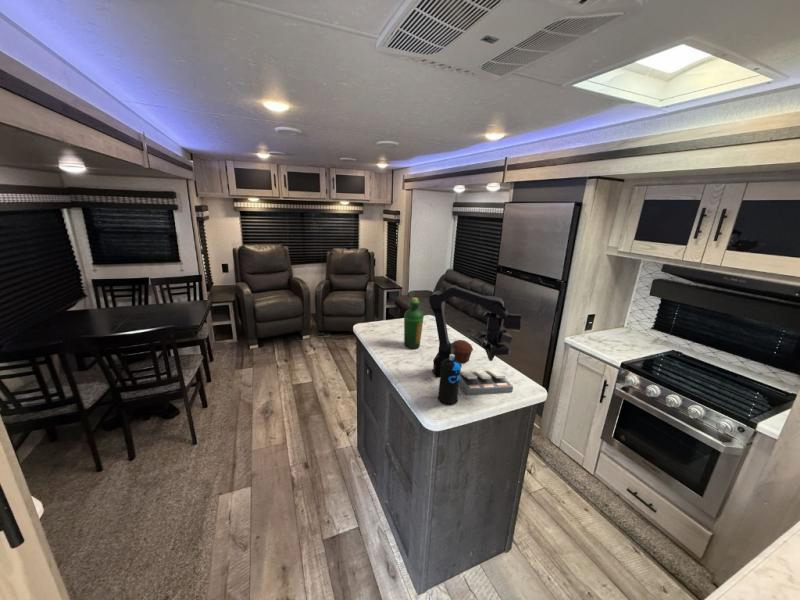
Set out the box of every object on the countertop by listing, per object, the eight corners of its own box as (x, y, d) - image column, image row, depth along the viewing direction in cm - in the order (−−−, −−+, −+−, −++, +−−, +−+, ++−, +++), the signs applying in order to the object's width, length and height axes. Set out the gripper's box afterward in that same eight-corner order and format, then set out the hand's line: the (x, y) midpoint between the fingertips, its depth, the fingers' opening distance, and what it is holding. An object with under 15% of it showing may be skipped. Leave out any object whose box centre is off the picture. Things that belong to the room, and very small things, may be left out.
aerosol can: (433, 398, 126) (437, 354, 120) (445, 391, 132) (450, 348, 126) (449, 408, 121) (454, 362, 115) (461, 399, 126) (467, 355, 121)
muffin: (444, 358, 161) (446, 340, 158) (456, 352, 168) (458, 335, 165) (463, 367, 153) (466, 348, 150) (475, 360, 160) (478, 342, 158)
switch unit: (466, 395, 130) (467, 389, 129) (454, 377, 143) (455, 372, 142) (512, 391, 134) (513, 386, 133) (497, 375, 147) (497, 370, 146)
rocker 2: (482, 380, 134) (482, 376, 134) (474, 374, 142) (474, 370, 142) (491, 379, 135) (491, 376, 135) (482, 373, 142) (483, 370, 142)
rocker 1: (468, 380, 133) (468, 376, 133) (461, 375, 141) (461, 372, 141) (477, 379, 133) (477, 376, 133) (469, 375, 141) (469, 372, 141)
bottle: (424, 349, 170) (428, 300, 162) (406, 351, 166) (409, 301, 158) (416, 341, 179) (419, 295, 171) (399, 343, 175) (401, 296, 167)
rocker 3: (496, 379, 135) (496, 376, 135) (487, 373, 143) (488, 370, 143) (504, 378, 136) (505, 375, 136) (496, 373, 144) (496, 369, 144)
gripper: (523, 334, 123) (518, 369, 128) (501, 319, 141) (497, 350, 145) (497, 336, 121) (493, 371, 126) (478, 320, 139) (475, 351, 143)
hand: (490, 360), depth 135 cm, fingers closed
